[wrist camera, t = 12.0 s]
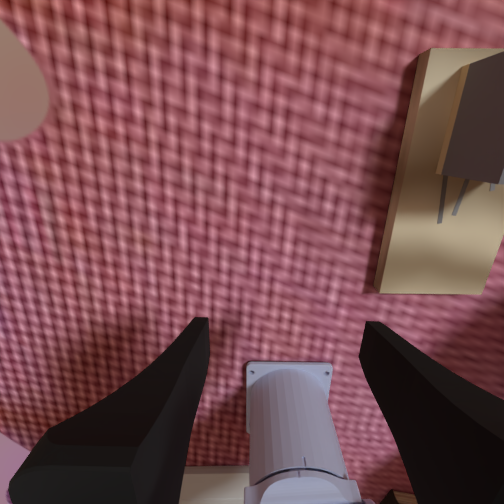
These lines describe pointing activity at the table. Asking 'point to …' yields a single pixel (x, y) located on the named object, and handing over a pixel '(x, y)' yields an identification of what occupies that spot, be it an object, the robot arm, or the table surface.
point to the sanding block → (476, 124)
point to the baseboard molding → (214, 484)
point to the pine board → (438, 196)
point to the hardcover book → (399, 498)
